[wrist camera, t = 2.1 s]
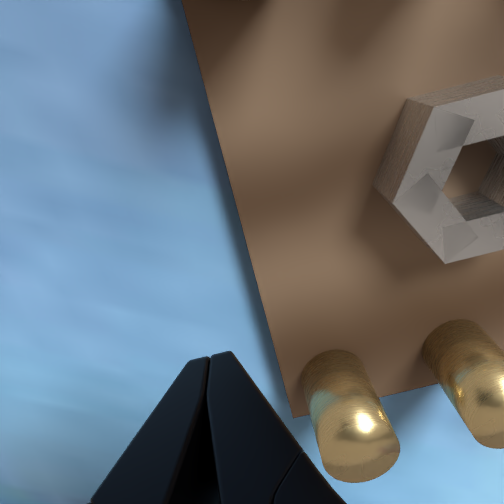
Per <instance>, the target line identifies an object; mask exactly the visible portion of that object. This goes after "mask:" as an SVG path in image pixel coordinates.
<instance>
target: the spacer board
mask: <svg viewBox="0 0 504 504" xmlns="http://www.w3.org/2000/svg"><path fill="white" fill-rule="evenodd" d="M182 4H183V7H184V11H185V15H186V19H187V22H188V26H189V30H190V34H191V37H192V41H193V45H194V49H195V52H196V56H197V60H198V64H199V67H200V71H201V75H202V79H203V82H204V86H205V90H206V93H207V97H208V101H209V105H210V108H211V112H212V116H213V120H214V123H215V127H216V131H217V135H218V138H219V142H220V146H221V150H222V153H223V157H224V161H225V165H226V168H227V172H228V176H229V180H230V183H231V187H232V191H233V195H234V198H235V202H236V206H237V210H238V213H239V217H240V221H241V225H242V228H243V232H244V236H245V240H246V243H247V247H248V251H249V255H250V258H251V262H252V266H253V270H254V273H255V277H256V281H257V285H258V288H259V292H260V296H261V300H262V303H263V307H264V311H265V314H266V318H267V322H268V326H269V329H270V333H271V337H272V341H273V344H274V348H275V352H276V356H277V359H278V363H279V367H280V371H281V374H282V378H283V382H284V386H285V389H286V393H287V397H288V401H289V404H290V408H291V412H292V416H293V418H296V417H300V416H305V415H309V414H310V413H309V409H308V405H307V402H306V398H305V394H304V390H303V386H302V382H301V375H302V371H303V369H304V367H305V365H306V364H307V363H308V362H309V361H310V360H311V359H312V358H313V357H314V356H316V355H318V354H320V353H322V352H325V351H328V350H335V349H338V350H346V351H349V352H351V353H353V354H355V355H356V356H357V357H358V358H359V359H360V360H361V361H362V363H363V365H364V367H365V370H366V372H367V374H368V376H369V378H370V380H371V383H372V385H373V387H374V389H375V391H376V393H377V396H378V398H379V397H384V396H388V395H392V394H396V393H400V392H404V391H408V390H413V389H417V388H421V387H425V386H429V385H433V384H438V381H437V380H436V378H435V377H434V375H433V374H432V372H431V371H430V369H429V368H428V366H427V365H426V363H425V361H424V359H423V355H422V349H423V345H424V342H425V340H426V338H427V337H428V335H429V334H430V333H431V332H432V331H433V330H434V329H435V328H437V327H438V326H439V325H441V324H443V323H445V322H448V321H451V320H456V319H466V320H471V321H473V322H475V323H477V324H478V325H479V326H481V327H482V329H483V330H484V331H485V332H486V333H487V334H488V335H489V336H490V337H491V338H492V339H493V340H494V342H495V343H496V344H497V345H498V346H499V347H500V348H501V349H502V350H503V351H504V249H503V250H499V251H495V252H491V253H487V254H483V255H479V256H475V257H471V258H467V259H463V260H459V261H455V262H451V263H447V264H444V263H443V262H442V261H441V260H440V259H439V258H438V257H437V256H436V255H435V254H434V253H433V252H432V251H431V250H430V249H429V248H428V247H427V246H426V245H425V244H424V243H423V242H422V241H421V240H420V239H419V238H418V237H417V235H416V234H415V233H414V232H413V231H412V230H411V228H410V227H409V226H408V225H407V224H406V223H405V222H404V220H403V219H402V218H401V217H400V216H399V215H398V213H397V212H396V211H395V210H394V209H393V208H392V207H391V205H390V204H389V203H388V202H387V201H386V200H385V199H384V197H383V196H382V195H381V194H380V193H379V192H378V190H377V189H376V188H375V187H374V186H373V185H372V183H373V181H374V178H375V176H376V174H377V171H378V169H379V166H380V164H381V161H382V159H383V156H384V154H385V151H386V149H387V146H388V144H389V141H390V139H391V136H392V134H393V132H394V129H395V127H396V124H397V122H398V119H399V117H400V114H401V112H402V109H403V107H404V104H405V102H406V99H407V98H411V97H415V96H418V95H422V94H426V93H430V92H434V91H438V90H442V89H446V88H450V87H453V86H457V85H461V84H465V83H469V82H473V81H477V80H481V79H485V78H488V77H492V76H496V75H500V76H504V0H182ZM495 155H496V151H495V150H494V148H493V147H492V146H491V144H490V143H489V141H488V140H484V141H480V142H476V143H473V144H469V145H465V146H462V148H461V151H460V153H459V155H458V157H457V159H456V161H455V163H454V166H453V168H452V170H451V172H450V174H449V176H448V179H447V181H446V183H445V185H444V187H443V189H442V192H443V193H444V194H445V195H446V197H447V198H448V199H449V198H453V197H457V196H461V195H465V194H469V193H473V192H477V191H478V189H479V187H480V185H481V183H482V181H483V179H484V177H485V175H486V173H487V171H488V169H489V167H490V165H491V163H492V161H493V159H494V157H495Z"/></svg>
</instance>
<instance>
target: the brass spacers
mask: <svg viewBox="0 0 504 504" xmlns="http://www.w3.org/2000/svg"><path fill="white" fill-rule="evenodd" d="M422 355H423V359H424V361H425V363H426V365H427V366H428V368H429V369H430V371H431V372H432V374H433V375H434V377H435V378H436V380H437V381H438V383H439V384H440V386H441V387H442V389H443V391H444V392H445V394H446V395H447V397H448V398H449V400H450V401H451V403H452V404H453V406H454V407H455V409H456V410H457V412H458V413H459V415H460V416H461V418H462V419H463V421H464V423H465V424H466V426H467V427H468V429H469V430H470V432H471V433H472V435H473V436H474V438H475V439H476V440H477V441H478V442H479V443H480V444H482V445H484V446H486V447H490V448H496V449H502V448H504V351H503V350H502V349H501V348H500V347H499V346H498V345H497V344H496V343H495V342H494V340H493V339H492V338H491V337H490V336H489V335H488V334H487V333H486V332H485V331H484V330H483V329H482V327H481V326H479V325H478V324H477V323H475V322H473V321H471V320H466V319H456V320H451V321H448V322H445V323H443V324H441V325H439V326H438V327H437V328H435V329H434V330H433V331H432V332H431V333H430V334H429V335H428V337H427V338H426V340H425V342H424V345H423V349H422ZM301 382H302V386H303V390H304V394H305V398H306V402H307V405H308V409H309V413H310V417H311V421H312V425H313V428H314V432H315V436H316V440H317V444H318V447H319V451H320V455H321V459H322V463H323V466H324V468H325V470H326V471H327V473H328V474H329V475H331V476H332V477H334V478H335V479H337V480H340V481H343V482H350V483H359V482H365V481H369V480H372V479H375V478H377V477H379V476H381V475H383V474H384V473H386V472H387V471H388V470H389V469H390V468H391V467H392V466H393V465H394V464H395V462H396V461H397V459H398V456H399V453H400V444H399V441H398V439H397V437H396V434H395V432H394V430H393V428H392V426H391V424H390V421H389V419H388V417H387V415H386V413H385V411H384V408H383V406H382V404H381V402H380V400H379V398H378V396H377V393H376V391H375V389H374V387H373V385H372V383H371V380H370V378H369V376H368V374H367V372H366V370H365V367H364V365H363V363H362V361H361V360H360V359H359V358H358V357H357V356H356V355H355V354H353V353H351V352H349V351H346V350H338V349H335V350H328V351H325V352H322V353H320V354H318V355H316V356H314V357H313V358H312V359H311V360H310V361H309V362H308V363H307V364H306V365H305V367H304V369H303V371H302V375H301Z"/></svg>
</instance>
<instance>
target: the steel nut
mask: <svg viewBox="0 0 504 504" xmlns="http://www.w3.org/2000/svg"><path fill="white" fill-rule="evenodd" d="M484 140H488V141H489V143H490V144H491V146H492V147H493V148H494V150H495V151H496V155H495V157H494V159H493V161H492V163H491V165H490V167H489V169H488V171H487V173H486V175H485V177H484V179H483V181H482V183H481V185H480V187H479V189H478V191H477V192H473V193H469V194H465V195H461V196H457V197H453V198H449V199H448V198H447V197H446V195H445V194H444V193H443V192H442V189H443V187H444V185H445V183H446V181H447V179H448V176H449V174H450V172H451V170H452V168H453V166H454V163H455V161H456V159H457V157H458V155H459V153H460V151H461V148H462V146H465V145H469V144H473V143H476V142H480V141H484ZM372 185H373V186H374V187H375V188H376V189H377V190H378V192H379V193H380V194H381V195H382V196H383V197H384V199H385V200H386V201H387V202H388V203H389V204H390V205H391V207H392V208H393V209H394V210H395V211H396V212H397V213H398V215H399V216H400V217H401V218H402V219H403V220H404V222H405V223H406V224H407V225H408V226H409V227H410V228H411V230H412V231H413V232H414V233H415V234H416V235H417V237H418V238H419V239H420V240H421V241H422V242H423V243H424V244H425V245H426V246H427V247H428V248H429V249H430V250H431V251H432V252H433V253H434V254H435V255H436V256H437V257H438V258H439V259H440V260H441V261H442V262H443V263H444V264H447V263H451V262H455V261H459V260H463V259H467V258H471V257H475V256H479V255H483V254H487V253H491V252H495V251H499V250H503V249H504V76H500V75H496V76H492V77H488V78H485V79H481V80H477V81H473V82H469V83H465V84H461V85H457V86H453V87H450V88H446V89H442V90H438V91H434V92H430V93H426V94H422V95H418V96H415V97H411V98H407V99H406V102H405V104H404V107H403V109H402V112H401V114H400V117H399V119H398V122H397V124H396V127H395V129H394V132H393V134H392V136H391V139H390V141H389V144H388V146H387V149H386V151H385V154H384V156H383V159H382V161H381V164H380V166H379V169H378V171H377V174H376V176H375V178H374V181H373V183H372Z"/></svg>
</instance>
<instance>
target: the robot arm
mask: <svg viewBox="0 0 504 504" xmlns="http://www.w3.org/2000/svg"><path fill="white" fill-rule="evenodd" d="M87 504H346V502H345V501H344V500H343V499H342V498H341V497H340V496H339V495H338V494H337V493H336V492H335V491H334V489H333V488H332V487H331V486H330V484H329V483H328V482H327V481H326V479H325V478H324V477H323V476H322V474H321V473H320V472H319V471H318V469H317V468H316V467H315V465H314V464H313V463H312V461H311V460H310V458H309V457H308V456H307V454H306V453H305V452H304V451H303V449H302V448H301V446H300V445H299V444H298V442H297V441H296V440H295V438H294V437H293V435H292V434H291V433H290V431H289V430H288V428H287V427H286V426H285V424H284V423H283V422H282V420H281V419H280V417H279V416H278V415H277V413H276V412H275V411H274V409H273V408H272V406H271V405H270V404H269V402H268V401H267V399H266V398H265V397H264V395H263V394H262V393H261V391H260V390H259V388H258V387H257V386H256V384H255V383H254V381H253V380H252V379H251V377H250V376H249V375H248V373H247V372H246V370H245V369H244V368H243V366H242V365H241V364H240V362H239V361H238V359H237V358H236V357H235V355H234V354H233V353H232V352H231V351H226V352H222V353H218V354H214V355H212V356H211V358H209V357H208V356H206V357H202V358H198V359H193V360H190V361H188V362H187V364H186V365H185V367H184V368H183V369H182V371H181V372H180V374H179V375H178V376H177V378H176V379H175V381H174V382H173V383H172V385H171V386H170V388H169V389H168V390H167V392H166V393H165V395H164V396H163V398H162V399H161V400H160V402H159V403H158V405H157V406H156V407H155V409H154V410H153V412H152V413H151V414H150V416H149V417H148V419H147V420H146V422H145V423H144V424H143V426H142V427H141V429H140V430H139V431H138V433H137V434H136V436H135V437H134V438H133V440H132V441H131V443H130V444H129V446H128V447H127V448H126V450H125V451H124V453H123V454H122V455H121V457H120V458H119V460H118V461H117V462H116V464H115V465H114V467H113V468H112V469H111V471H110V472H109V474H108V475H107V477H106V478H105V479H104V481H103V482H102V484H101V485H100V486H99V488H98V489H97V491H96V492H95V493H94V495H93V496H92V498H91V503H87Z"/></svg>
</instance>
